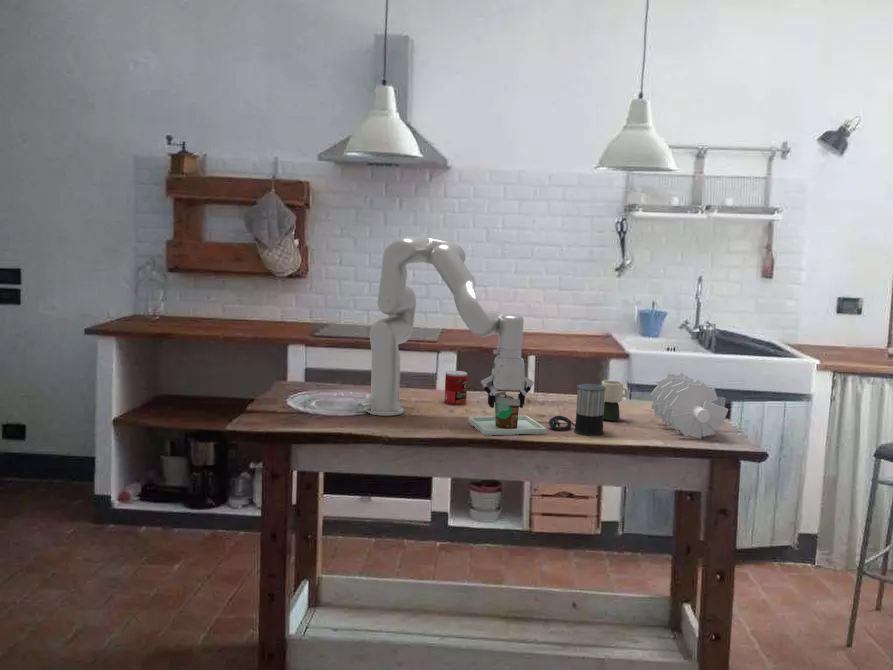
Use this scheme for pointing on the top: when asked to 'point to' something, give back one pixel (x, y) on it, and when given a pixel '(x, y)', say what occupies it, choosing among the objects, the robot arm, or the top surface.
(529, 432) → the tray
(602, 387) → the milk frother
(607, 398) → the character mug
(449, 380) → the canned food
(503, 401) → the food container
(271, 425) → the top surface
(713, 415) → the spiral staircase
